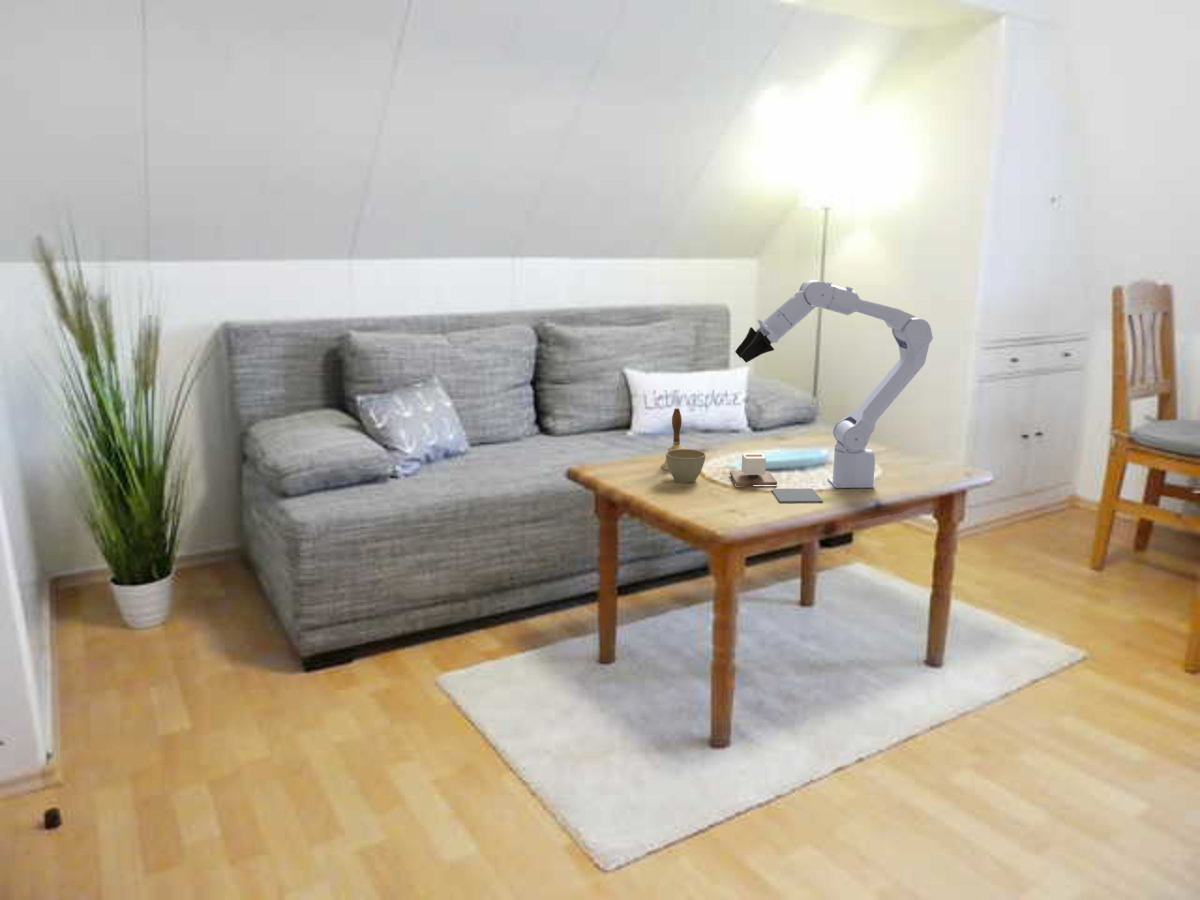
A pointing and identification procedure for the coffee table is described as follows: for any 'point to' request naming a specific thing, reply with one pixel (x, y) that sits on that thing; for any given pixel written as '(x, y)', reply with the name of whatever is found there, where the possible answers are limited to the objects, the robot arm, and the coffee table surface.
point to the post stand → (752, 479)
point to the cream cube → (753, 463)
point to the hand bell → (675, 434)
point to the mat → (797, 495)
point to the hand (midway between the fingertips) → (740, 357)
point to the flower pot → (685, 464)
